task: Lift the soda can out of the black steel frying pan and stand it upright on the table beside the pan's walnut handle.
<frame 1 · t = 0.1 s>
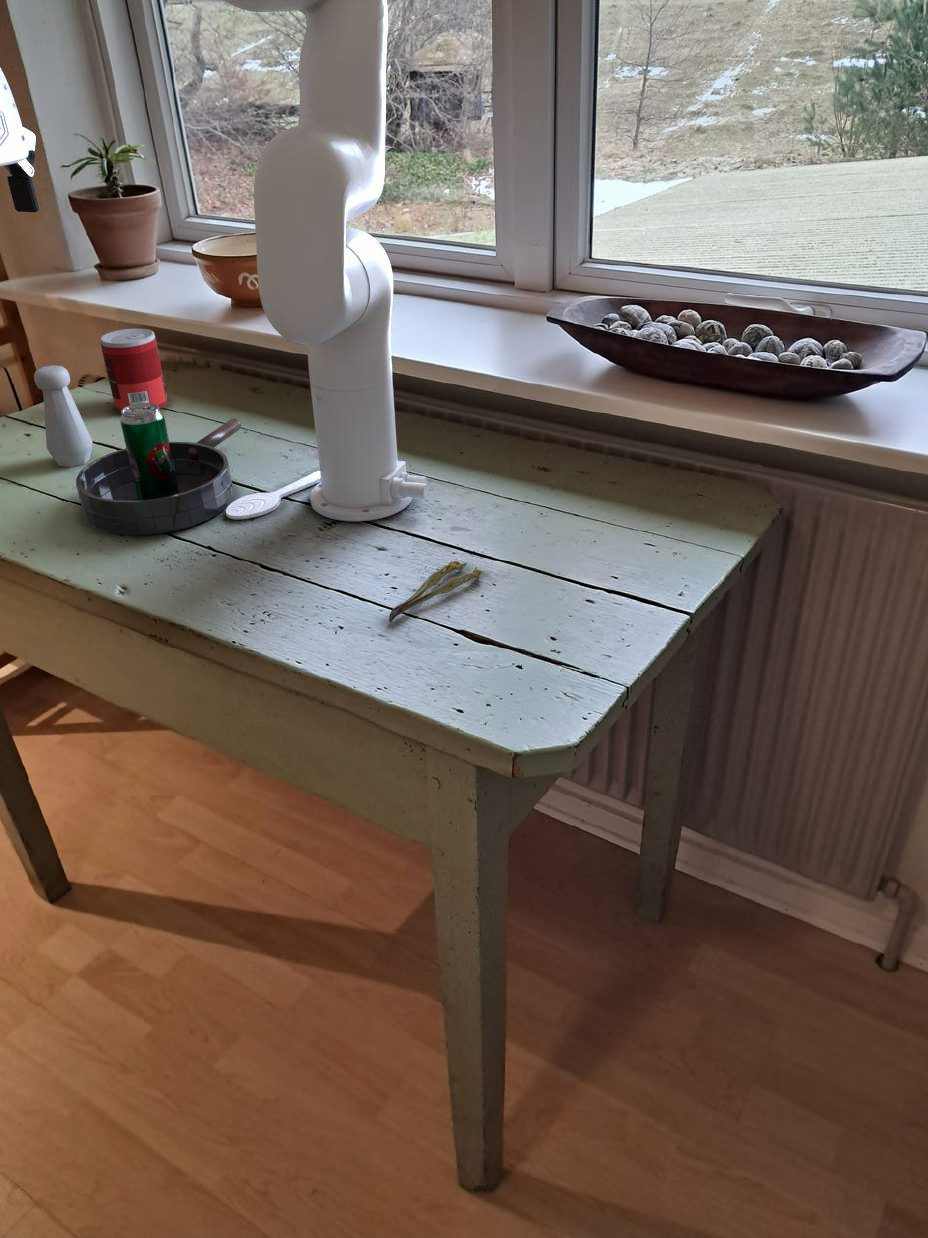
canned food: (142, 407, 150), on the table
salt shaker: (74, 462, 132), on the table
pan: (160, 503, 120), on the table
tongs: (436, 598, 100), on the table
soda can: (160, 502, 120), resting on pan
spoon: (286, 493, 122), on the table
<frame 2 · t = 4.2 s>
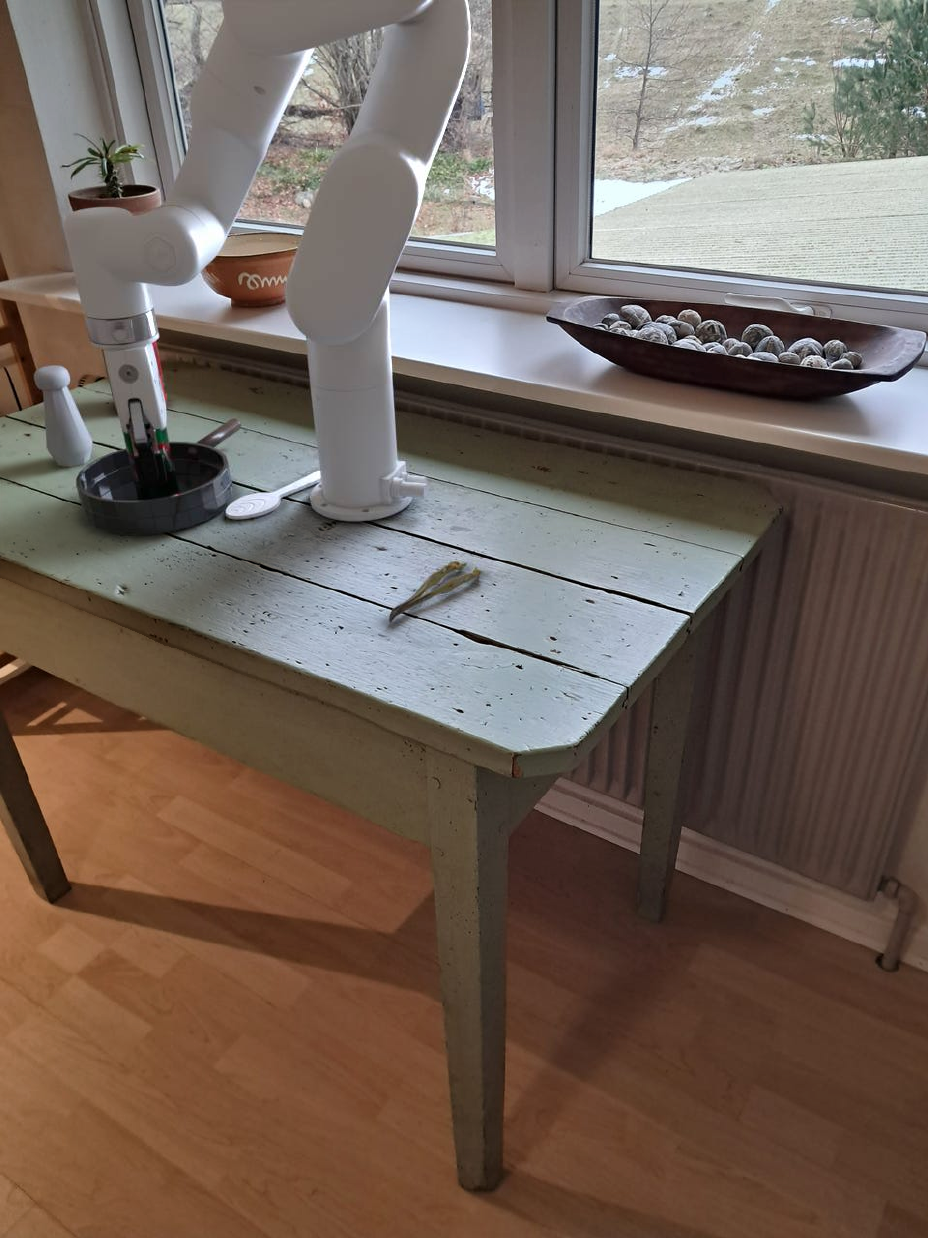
hand: (154, 474, 118), 4 cm above the table, tool pointing down, fingers closed on soda can, 5 cm apart
soda can: (160, 502, 120), resting on pan, touching gripper
everything else where it was.
when the fingers open (4 cm above the table, at t = 10.7 s): soda can stays where it is, on the table.
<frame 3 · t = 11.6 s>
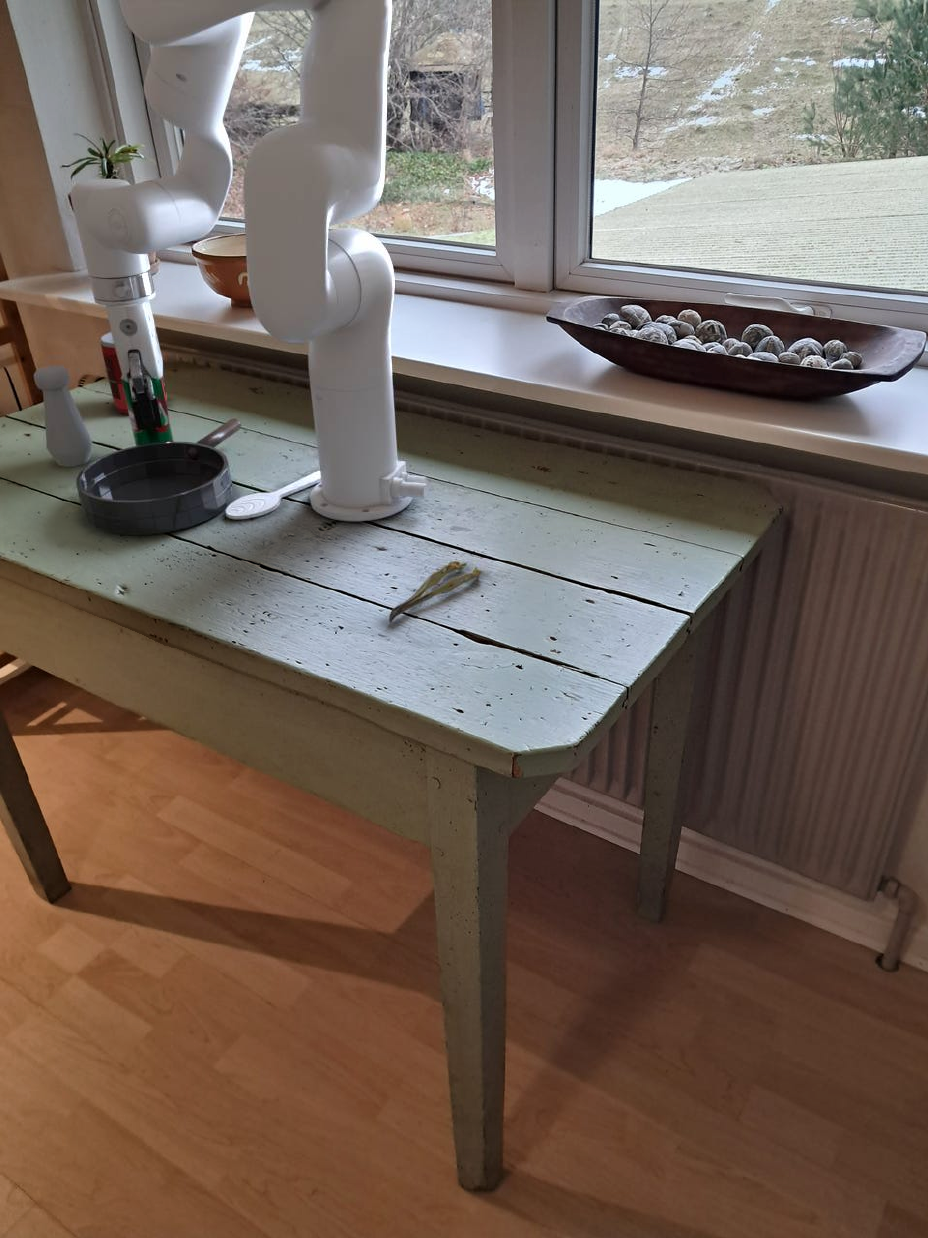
hand: (150, 415, 131), 5 cm above the table, tool pointing down, fingers open, 9 cm apart
soda can: (156, 453, 134), on the table
everything else where it was.
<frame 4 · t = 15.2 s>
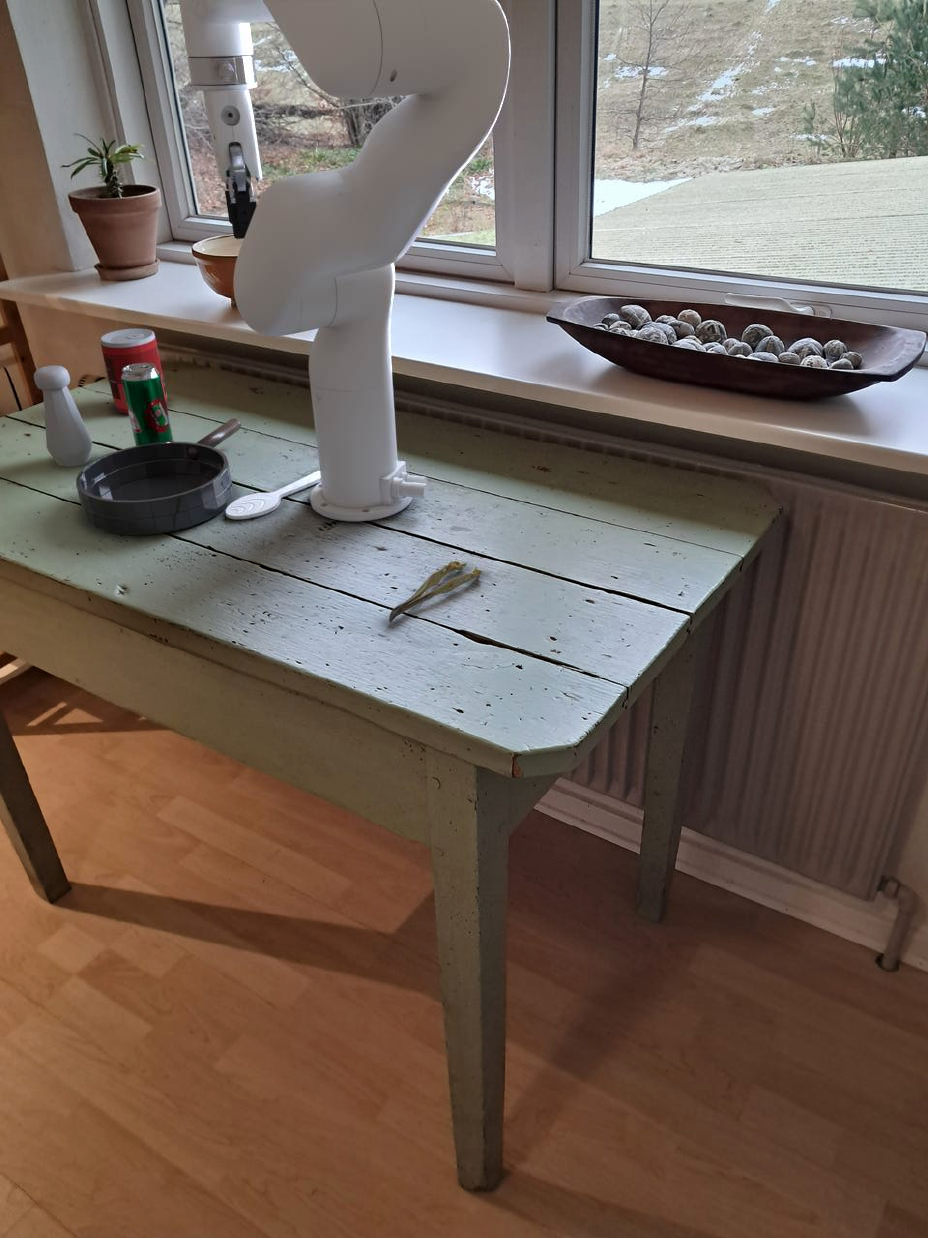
hand: (244, 229, 121), 28 cm above the table, tool pointing down, fingers open, 9 cm apart
nothing on the table moved.
at the end: soda can inside the target area (0.1 cm from its centre), on the table; soda can tilted 0°; the gripper is holding nothing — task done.
